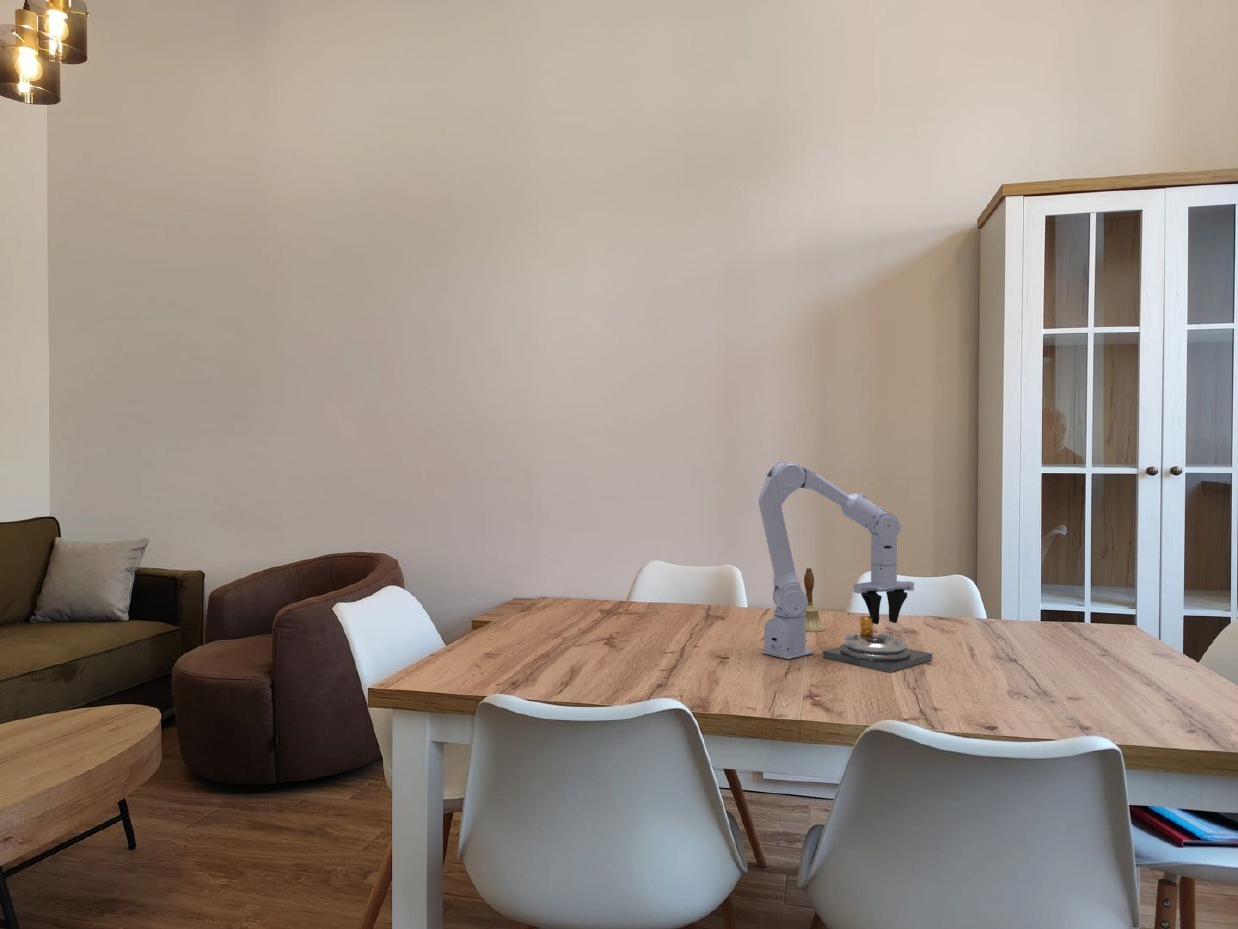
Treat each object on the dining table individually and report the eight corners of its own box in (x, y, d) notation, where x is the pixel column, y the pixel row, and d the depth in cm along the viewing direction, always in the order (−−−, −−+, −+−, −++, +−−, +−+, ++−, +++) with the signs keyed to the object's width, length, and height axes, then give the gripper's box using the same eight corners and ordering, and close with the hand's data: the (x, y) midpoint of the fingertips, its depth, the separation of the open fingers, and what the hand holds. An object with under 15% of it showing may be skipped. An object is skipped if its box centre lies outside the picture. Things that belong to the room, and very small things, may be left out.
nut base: (890, 672, 178) (890, 660, 178) (823, 657, 191) (823, 645, 191) (932, 660, 189) (932, 648, 189) (866, 646, 202) (866, 635, 202)
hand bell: (817, 633, 217) (817, 571, 217) (787, 629, 222) (788, 568, 222) (830, 628, 223) (831, 568, 223) (801, 624, 228) (801, 565, 228)
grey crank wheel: (915, 653, 183) (916, 627, 183) (857, 654, 182) (857, 627, 182) (891, 640, 196) (891, 615, 196) (836, 641, 195) (836, 616, 195)
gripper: (901, 560, 201) (901, 617, 201) (846, 563, 197) (846, 621, 198) (919, 564, 194) (919, 623, 194) (862, 567, 190) (862, 627, 191)
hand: (883, 622), depth 195 cm, fingers open, 4 cm apart
